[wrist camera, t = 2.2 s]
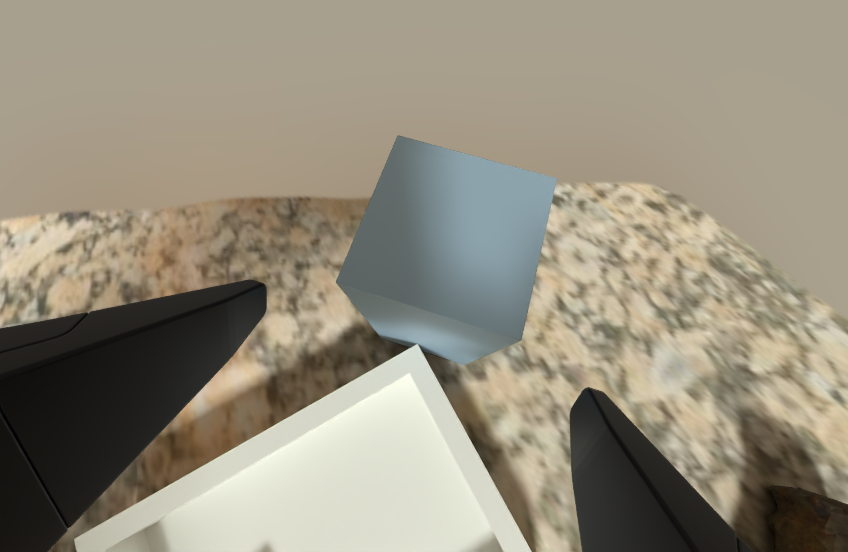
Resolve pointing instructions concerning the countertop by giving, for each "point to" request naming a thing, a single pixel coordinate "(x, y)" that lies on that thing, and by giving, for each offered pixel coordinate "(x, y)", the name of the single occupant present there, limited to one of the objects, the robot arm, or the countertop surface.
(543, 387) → the countertop surface
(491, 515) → the tray
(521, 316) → the blue block
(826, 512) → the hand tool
